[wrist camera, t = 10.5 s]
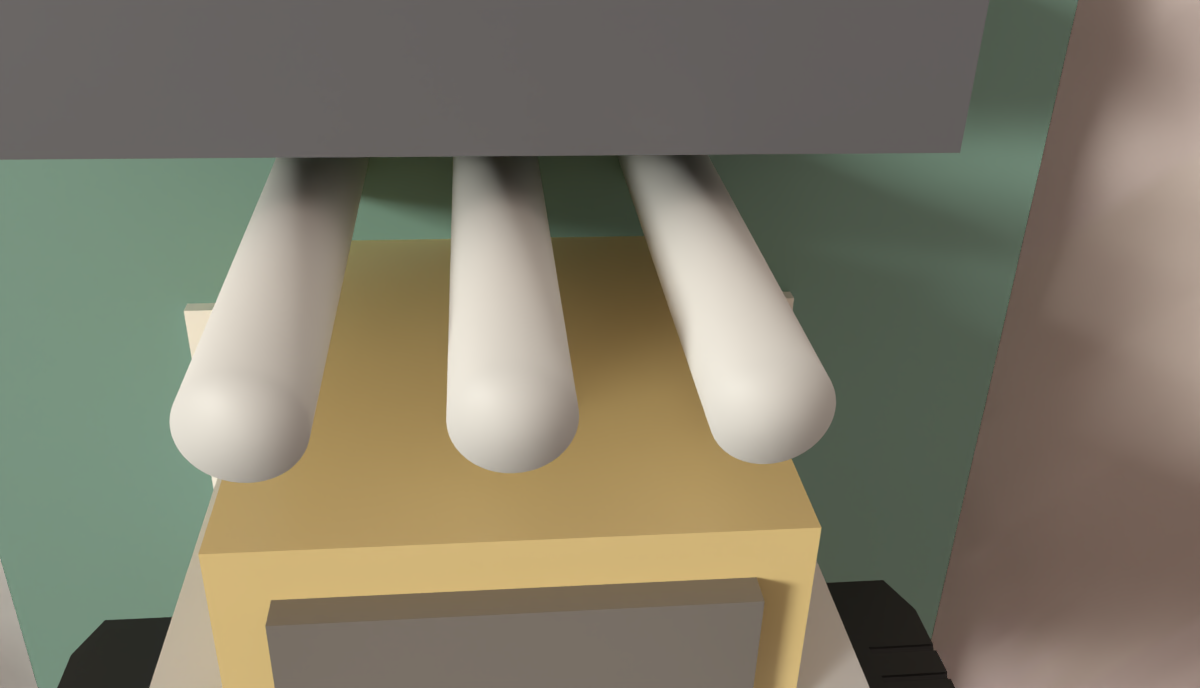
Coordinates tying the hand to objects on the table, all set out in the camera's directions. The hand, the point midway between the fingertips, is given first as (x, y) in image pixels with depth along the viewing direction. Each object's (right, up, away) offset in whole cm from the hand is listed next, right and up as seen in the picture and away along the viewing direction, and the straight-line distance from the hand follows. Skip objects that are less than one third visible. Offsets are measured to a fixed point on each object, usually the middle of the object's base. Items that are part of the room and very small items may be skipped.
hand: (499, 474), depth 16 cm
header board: (0, -2, +3) cm, 4 cm away
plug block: (0, 0, 0) cm, 0 cm away
